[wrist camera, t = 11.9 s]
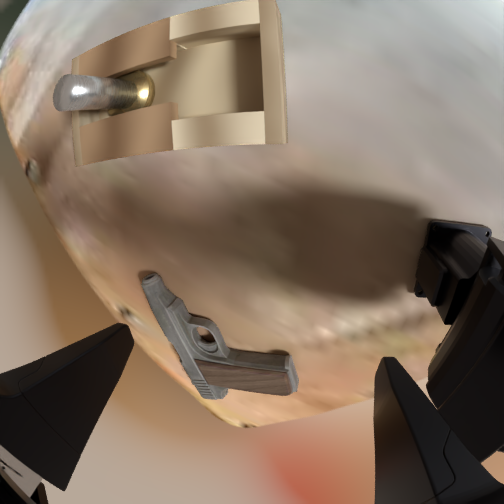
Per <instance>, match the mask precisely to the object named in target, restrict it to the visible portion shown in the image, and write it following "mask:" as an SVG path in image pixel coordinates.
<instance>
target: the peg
mask: <svg viewBox="0 0 504 504" xmlns="http://www.w3.org/2000/svg"><path fill="white" fill-rule="evenodd" d="M154 97H155V84H154V81H153V79H152V77H151V76H150V75H149V74H148V73H146V72H144V71H140V70H136V71H133V72H130V73H127V74H124V75H121V76H118V77H116V78H106V77H97V76H86V75H72V74H67V75H64V76H63V77H61V78H60V80H59V81H58V83H57V84H56V87H55V89H54V94H53V103H54V106H55V108H56V109H57V110H58V111H73V110H93V109H107V110H108V112H109V114H110V115H111V116H115V115H118V114H122V113H125V112H129V111H133V110H137V109H141V108H145V107H149V106H151V105H152V103H153V100H154Z"/></svg>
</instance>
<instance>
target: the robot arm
mask: <svg viewBox="0 0 504 504" xmlns="http://www.w3.org/2000/svg"><path fill="white" fill-rule="evenodd" d="M434 225H436V228H435V229H434V230H433V226H434ZM486 232H487V234H486V235H485V233H486ZM491 234H492V232H491V229H490V228H488V227H486V226H479V225H471V224H464V223H456V222H447V221H438V220H432V221H430V223H429V225H428V229H427V235H426V240H425V245H424V247H423V248H422V249H421V254H420V259H419V263H418V268H417V272H416V278H417V280H416V284H415V288H414V293H415V295H416V296H417V297H423V298H427V299H428V301H429V303H430V304H431V306H432V307H436V308H437V310H438V312H439V314H440V316H441V318H442V320H443V322H444V324H445V325H451V327H450V329H449V331H448V332H447V334H446V336H445V338H444V339H443V341H442V343H440V344H439V345H438V347H437V348H436V354H435V355H434V357H433V358H432V360H431V363H430V365H429V367H428V382H427V384H426V388H427V391H428V394H429V396H430V398H431V400H432V402H433V403H434V405H435V406H434V405H433V404H432V403H431V402H430V400H429V399H428V398H427V396H426V395H425V394H424V392H423V391H422V390H421V389H420V387H418V385H417V384H416V382H415V381H414V380H413V379H412V377H411V376H410V375H409V374H408V373H407V371H406V370H405V369H404V368H403V366H402V365H401V364H400V363H399V362H398V360H397V359H396V358H395V357H383V358H382V359H381V361H380V364H379V366H378V369H377V371H376V374H375V389H374V418H373V419H374V441H375V504H504V484H502V483H500V482H498V481H497V480H496V479H495V478H494V477H493V476H492V475H491V474H490V473H489V472H488V471H487V470H486V469H485V468H484V467H483V466H482V465H481V463H482V462H483V461H484V460H486V459H487V458H488V457H490V456H491V455H492V454H493V453H495V452H496V451H499V452H503V453H504V241H501V240H499V239H496V238H493V237H491ZM419 290H421V292H418V291H419ZM133 346H134V339H133V337H132V334H131V331H130V328H129V326H128V325H126V324H123V323H116V324H114V325H112V326H110V327H108V328H106V329H103V330H101V331H99V332H97V333H95V334H93V335H90V336H88V337H86V338H84V339H82V340H80V341H77V342H75V343H73V344H71V345H69V346H67V347H64V348H62V349H60V350H58V351H56V352H54V353H52V354H49V355H47V356H46V357H42V358H40V359H38V360H36V361H33V362H32V363H29V364H26V365H23V366H21V367H18V368H16V369H12V370H10V371H7V372H4V373H1V374H0V504H48V500H47V496H46V491H45V486H44V484H43V483H42V482H41V480H42V478H43V479H45V480H46V481H48V482H49V483H51V484H53V485H54V486H56V487H57V488H59V489H61V490H62V491H65V490H66V488H67V486H68V483H69V481H70V479H71V476H72V474H73V472H74V470H75V467H76V465H77V463H78V461H79V459H80V456H81V454H82V452H83V450H84V448H85V446H86V443H87V441H88V439H89V437H90V435H91V433H92V431H93V429H94V427H95V425H96V423H97V421H98V419H99V417H100V415H101V413H102V411H103V409H104V407H105V405H106V403H107V401H108V399H109V398H110V396H111V394H112V392H113V390H114V388H115V386H116V384H117V383H118V381H119V379H120V377H121V375H122V372H123V370H124V368H125V365H126V363H127V360H128V358H129V356H130V353H131V351H132V349H133ZM435 407H436V408H437V409H436V408H435Z"/></svg>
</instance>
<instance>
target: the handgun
mask: <svg viewBox="0 0 504 504" xmlns="http://www.w3.org/2000/svg"><path fill="white" fill-rule="evenodd" d="M141 285H142V288H143V290H144V292H145V294H146V297H147V299H148V302H149V304H150V307H151V309H152V311H153V313H154V315H155V317H156V319H157V321H158V323H159V325H160V327H161V329H162V330H163V332H164V334H165V336H166V337H167V339H168V340H169V341H170V342H171V343H172V344H173V345H174V347H175V349H176V351H177V352H178V354H179V356H180V362H181V364H182V366H183V367H184V369H185V371H186V372H187V374H188V376H189V377H190V379H191V382H192V384H193V385H195V387H196V388H197V390H198V392H199V393H200V395H201V396H202V397H203V398H205V399H215V400H217V399H223V398H224V397H225V395H227V393H228V389H236V390H242V391H249V392H256V393H263V394H271V395H280V396H287V395H290V394H292V393H293V392H296V391H297V389H298V383H299V379H298V376H297V373H296V369H295V366H294V363H293V359H292V356H291V355H288V356H283V355H272V354H262V353H253V352H245V351H238V350H235V349H232V348H228V347H227V346H226V344H225V342H224V339H223V337H222V335H221V332H220V330H219V328H218V327H217V325H216V324H215V323H213V322H212V321H210V320H208V319H204V318H199V317H193V316H191V315H190V314H189V313H188V311H187V309H186V307H185V305H184V303H183V300H181V299H180V298H178V297H176V296H175V295H174V294H173V293H172V292H170V291H169V290H168V289H167V288H166V286H165V285H164V283H163V281H162V279H161V277H160V275H158V274H156V273H153V274H150V275H148V276H146V277H145V278H143V280H142V284H141ZM196 327H203V328H205V329H207V330H209V331H210V332H211V333H212V335H213V336H214V338H215V340H216V341H215V342H212V343H209V342H207V341H206V340H204V339H203V338H202V337H201V336H200V335H199V333H198V331H197V328H196Z"/></svg>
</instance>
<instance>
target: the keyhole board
mask: <svg viewBox="0 0 504 504" xmlns="http://www.w3.org/2000/svg"><path fill="white" fill-rule="evenodd" d="M136 70H140V71H144V72H146V73H148V74H149V75H150V76H151V77H152V79H153V81H154V84H155V97H154V100H153V103H152V105H151V106H149V107H145V108H141V109H137V110H133V111H129V112H125V113H122V114H118V115H115V116H111V115H110V114H109V112H108V110H107V109H93V110H73V111H71V115H72V133H73V146H74V156H75V165H76V167H77V166H81V165H86V164H90V163H95V162H100V161H105V160H111V159H116V158H122V157H128V156H134V155H140V154H147V153H154V152H162V151H170V150H179V149H189V148H200V147H212V146H228V145H251V144H284V143H288V140H287V108H286V85H285V66H284V49H283V35H282V21H281V14H280V11H279V8H278V6H277V3H276V0H247V1H239V2H233V3H227V4H221V5H216V6H211V7H206V8H202V9H198V10H194V11H190V12H186V13H182V14H179V15H175V16H172V17H169V18H165V19H162V20H159V21H156V22H153V23H150V24H148V25H145V26H142V27H139V28H137V29H134V30H132V31H129V32H127V33H125V34H122V35H120V36H118V37H115V38H113V39H111V40H109V41H107V42H105V43H102V44H100V45H98V46H96V47H94V48H92V49H91V50H89V51H87V52H85V53H83V54H81V55H79V56H78V57H76V58H74V59H72V73H71V74H72V75H86V76H97V77H106V78H116V77H118V76H121V75H124V74H127V73H130V72H133V71H136Z"/></svg>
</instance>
